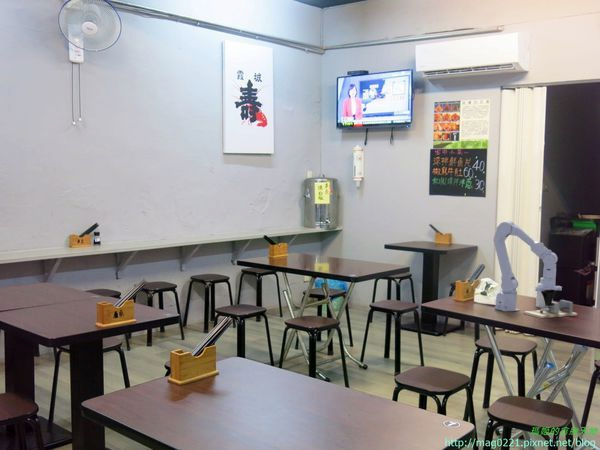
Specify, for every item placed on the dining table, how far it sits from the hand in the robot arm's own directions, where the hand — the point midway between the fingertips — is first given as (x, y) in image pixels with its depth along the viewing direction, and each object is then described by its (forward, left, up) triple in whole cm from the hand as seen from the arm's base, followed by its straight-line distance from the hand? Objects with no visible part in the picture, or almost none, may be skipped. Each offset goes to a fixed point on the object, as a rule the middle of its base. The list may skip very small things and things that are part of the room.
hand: (547, 305), depth 299 cm
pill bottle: (+12, +15, -5) cm, 20 cm away
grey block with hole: (+3, 0, -3) cm, 4 cm away
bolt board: (+2, 0, -4) cm, 5 cm away
